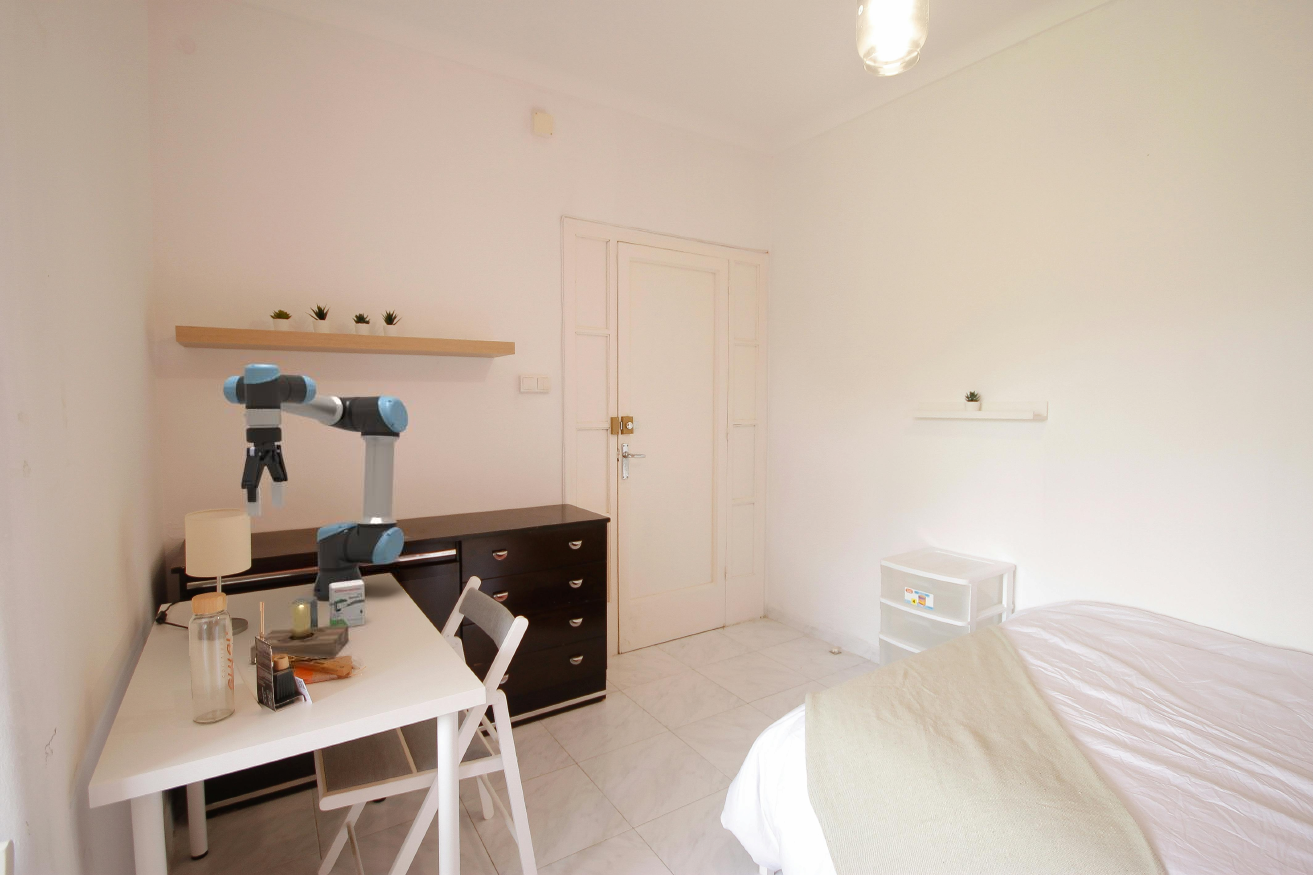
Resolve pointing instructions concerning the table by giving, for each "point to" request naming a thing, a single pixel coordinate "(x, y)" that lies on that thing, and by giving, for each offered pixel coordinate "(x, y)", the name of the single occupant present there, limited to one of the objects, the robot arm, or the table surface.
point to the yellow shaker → (301, 621)
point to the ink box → (347, 603)
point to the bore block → (307, 642)
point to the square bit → (311, 609)
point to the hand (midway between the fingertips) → (266, 511)
